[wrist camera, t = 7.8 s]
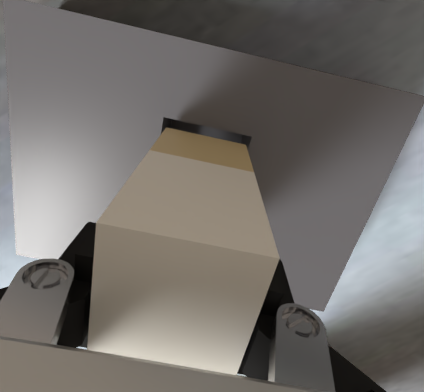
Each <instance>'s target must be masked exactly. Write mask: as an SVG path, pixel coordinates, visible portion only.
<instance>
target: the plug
mask: <svg viewBox="0 0 424 392" xmlns="http://www.w3.org/2000/svg"><path fill="white" fill-rule="evenodd" d="M279 259H280V258H279V254H278V251H277V248H276V244H275V241H274V238H273V234H272V231H271V227H270V224H269V221H268V217H267V214H266V211H265V207H264V204H263V200H262V197H261V194H260V190H259V187H258V184H257V180H256V177H255V173H254V170H253V167H252V163H251V160H250V157H249V153H248V150H247V147H246V145H245V144H240V143H236V142H231V141H227V140H222V139H217V138H213V137H208V136H204V135H199V134H195V133H190V132H186V131H181V130H176V129H172V128H167V127H166V128H165V130H164V131H163V132H162V134H161V135H160V136H159V138H158V139H157V141H156V142H155V143H154V145H153V146H152V147H151V149H150V150H149V151H148V153H147V154H146V155H145V157H144V158H143V160H142V161H141V162H140V164H139V165H138V166H137V168H136V169H135V170H134V172H133V173H132V175H131V176H130V177H129V179H128V180H127V181H126V183H125V184H124V185H123V187H122V188H121V189H120V191H119V192H118V194H117V195H116V196H115V198H114V199H113V200H112V202H111V203H110V204H109V206H108V207H107V209H106V210H105V211H104V213H103V214H102V215H101V217H100V218H99V219H98V221H97V222H96V232H95V246H94V260H93V274H92V288H91V302H90V316H89V330H88V343H87V350H91V351H97V352H103V353H109V354H115V355H121V356H127V357H133V358H139V359H145V360H151V361H157V362H163V363H169V364H174V365H180V366H186V367H192V368H198V369H204V370H209V371H215V372H221V373H227V374H232V375H237V372H238V370H239V367H240V364H241V362H242V359H243V356H244V354H245V351H246V348H247V345H248V343H249V340H250V337H251V335H252V332H253V329H254V327H255V324H256V321H257V318H258V316H259V313H260V310H261V308H262V305H263V302H264V300H265V297H266V294H267V291H268V289H269V286H270V283H271V281H272V278H273V275H274V273H275V270H276V267H277V264H278V262H279Z"/></svg>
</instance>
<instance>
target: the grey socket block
mask: <svg viewBox="0 0 424 392" xmlns="http://www.w3.org/2000/svg"><path fill="white" fill-rule="evenodd" d="M3 12H4V31H5V50H6V69H7V88H8V107H9V126H10V145H11V164H12V184H13V203H14V222H15V241H16V255H21V256H26V257H32V258H37V259H59V257H60V256H61V255H62V254H63V252H64V251H65V250H66V249H67V247H68V246H69V245H70V244H71V242H72V241H73V240H74V238H75V237H76V236H77V235H78V233H79V232H80V231H81V230H82V228H83V227H84V226H85V225H86V224H87V223H88V222H94V223H96V222H97V221H98V219H99V218H100V217H101V215H102V214H103V213H104V211H105V210H106V209H107V207H108V206H109V204H110V203H111V202H112V200H113V199H114V198H115V196H116V195H117V194H118V192H119V191H120V189H121V188H122V187H123V185H124V184H125V183H126V181H127V180H128V179H129V177H130V176H131V175H132V173H133V172H134V170H135V169H136V168H137V166H138V165H139V164H140V162H141V161H142V160H143V158H144V157H145V155H146V154H147V153H148V151H149V150H150V149H151V147H152V146H153V145H154V143H155V142H156V141H157V139H158V138H159V136H160V135H161V134H162V132H163V131H164V130H165V128H166V127H167V128H172V129H176V130H181V131H186V132H190V133H195V134H199V135H204V136H208V137H213V138H217V139H222V140H227V141H231V142H236V143H240V144H245V145H246V147H247V150H248V153H249V157H250V160H251V163H252V167H253V170H254V173H255V177H256V180H257V184H258V187H259V190H260V194H261V197H262V200H263V204H264V207H265V211H266V214H267V217H268V221H269V224H270V227H271V231H272V234H273V238H274V241H275V244H276V248H277V251H278V254H279V258H280V260H281V261H282V263H283V266H284V270H285V273H286V276H287V280H288V283H289V286H290V290H291V293H292V296H293V300H294V303H295V304H299V305H302V306H304V307H306V308H308V309H313V310H318V311H323V312H324V310H325V307H326V305H327V303H328V301H329V299H330V297H331V295H332V293H333V291H334V289H335V287H336V285H337V283H338V281H339V278H340V276H341V274H342V272H343V270H344V268H345V266H346V264H347V262H348V260H349V258H350V256H351V254H352V251H353V249H354V247H355V245H356V243H357V241H358V239H359V237H360V235H361V233H362V231H363V229H364V227H365V224H366V222H367V220H368V218H369V216H370V214H371V212H372V210H373V208H374V206H375V204H376V202H377V200H378V197H379V195H380V193H381V191H382V189H383V187H384V185H385V183H386V181H387V179H388V177H389V175H390V173H391V170H392V168H393V166H394V164H395V162H396V160H397V158H398V156H399V154H400V152H401V150H402V148H403V146H404V143H405V141H406V139H407V137H408V135H409V133H410V131H411V129H412V127H413V125H414V123H415V121H416V119H417V116H418V114H419V112H420V110H421V108H422V106H423V104H424V96H422V95H418V94H413V93H409V92H405V91H401V90H397V89H393V88H388V87H384V86H380V85H376V84H372V83H368V82H363V81H359V80H355V79H351V78H347V77H342V76H338V75H334V74H330V73H326V72H322V71H317V70H313V69H309V68H305V67H301V66H297V65H292V64H288V63H284V62H280V61H276V60H271V59H267V58H263V57H259V56H255V55H251V54H246V53H242V52H238V51H234V50H230V49H226V48H221V47H217V46H213V45H209V44H205V43H201V42H196V41H192V40H188V39H184V38H180V37H175V36H171V35H167V34H163V33H159V32H155V31H150V30H146V29H142V28H138V27H134V26H130V25H125V24H121V23H117V22H113V21H109V20H104V19H100V18H96V17H92V16H88V15H84V14H79V13H75V12H71V11H67V10H63V9H59V8H54V7H50V6H46V5H42V4H38V3H33V2H29V1H25V0H3Z"/></svg>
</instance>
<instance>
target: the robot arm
mask: <svg viewBox="0 0 424 392" xmlns="http://www.w3.org/2000/svg"><path fill="white" fill-rule="evenodd" d="M95 232H96V223H94V222H88V223H87V224H86V225H85V226H84V227H83V228H82V230H81V231H80V232H79V233H78V235H77V236H76V237H75V238H74V240H73V241H72V242H71V244H70V245H69V246H68V247H67V249H66V250H65V251H64V252H63V254H62V255H61V256H60V257H59V259H40V260H36V261H33V262H30V263H28V264H26V265H25V266H23V267H22V268H21V269H20V270H19V271H18V272H17V273H16V275H15V277H14V279H13V280H12V282H11V284H10V285H9V287H5V288H2V289H0V392H386V391H385V390H384V389H382V388H381V387H380V386H379V385H377V384H376V383H375V382H374V381H372V380H371V379H370V378H369V377H367V376H366V375H365V374H364V373H362V372H361V371H360V370H359V369H357V368H356V367H355V366H354V365H353V364H351V363H350V362H349V361H348V360H346V359H345V358H344V357H343V356H341V355H340V354H339V353H338V352H336V351H335V350H334V349H333V348H331V347H330V346H329V345H328V342H327V335H326V329H325V326H324V324H323V322H322V321H321V319H320V318H319V317H318V316H317V315H316V314H315V313H314V312H313V311H311V310H310V309H308V308H306V307H304V306H302V305H299V304H295V303H294V300H293V296H292V293H291V290H290V286H289V283H288V280H287V276H286V273H285V270H284V266H283V263H282V261H281V260H280V259H279V262H278V264H277V267H276V270H275V273H274V275H273V278H272V281H271V283H270V286H269V289H268V291H267V294H266V297H265V300H264V302H263V305H262V308H261V310H260V313H259V316H258V318H257V321H256V324H255V327H254V329H253V332H252V335H251V337H250V340H249V343H248V345H247V348H246V351H245V354H244V356H243V359H242V362H241V364H240V367H239V370H238V372H237V373H238V374H244V375H246V376H247V377H244V376H238V375H232V374H227V373H221V372H215V371H209V370H204V369H198V368H192V367H186V366H180V365H174V364H169V363H163V362H157V361H151V360H145V359H139V358H133V357H127V356H121V355H115V354H109V353H103V352H97V351H91V350H85V349H79V348H76V347H78V346H80V347H86V348H87V343H88V330H89V316H90V302H91V288H92V274H93V260H94V246H95Z"/></svg>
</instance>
